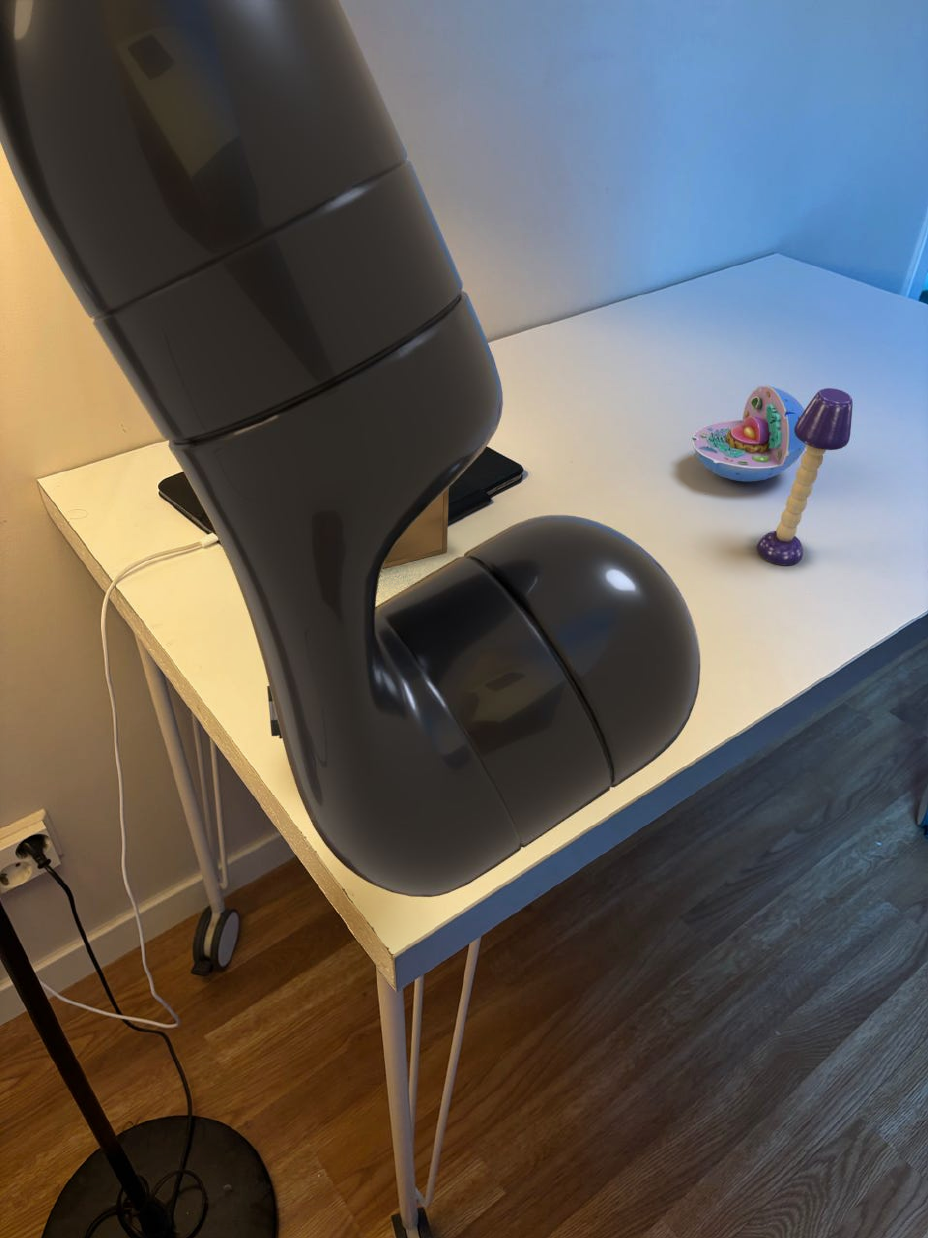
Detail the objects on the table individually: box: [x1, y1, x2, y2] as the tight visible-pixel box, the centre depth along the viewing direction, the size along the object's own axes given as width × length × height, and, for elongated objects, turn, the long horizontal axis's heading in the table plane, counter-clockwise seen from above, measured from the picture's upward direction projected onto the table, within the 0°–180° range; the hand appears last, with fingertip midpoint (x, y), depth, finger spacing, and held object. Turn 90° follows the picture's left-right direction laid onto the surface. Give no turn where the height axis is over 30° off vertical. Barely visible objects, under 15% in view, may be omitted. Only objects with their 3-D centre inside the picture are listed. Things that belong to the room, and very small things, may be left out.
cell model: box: [691, 385, 806, 483], centre depth 98 cm, size 10×12×10 cm
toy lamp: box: [756, 387, 853, 566], centre depth 85 cm, size 5×5×17 cm
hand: (396, 695), depth 56 cm, fingers open, 8 cm apart
